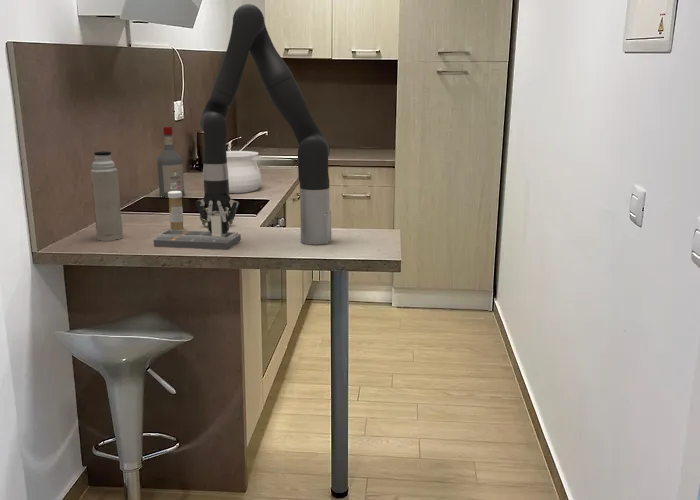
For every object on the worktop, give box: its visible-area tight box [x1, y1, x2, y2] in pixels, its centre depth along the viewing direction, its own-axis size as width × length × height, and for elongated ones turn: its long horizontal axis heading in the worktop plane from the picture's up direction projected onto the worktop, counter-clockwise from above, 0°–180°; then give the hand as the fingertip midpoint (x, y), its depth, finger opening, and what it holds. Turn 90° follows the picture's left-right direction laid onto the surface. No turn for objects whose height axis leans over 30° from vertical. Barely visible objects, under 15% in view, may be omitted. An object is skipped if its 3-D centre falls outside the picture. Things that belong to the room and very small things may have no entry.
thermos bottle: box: [90, 151, 124, 242], centre depth 219 cm, size 8×8×28 cm
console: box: [153, 229, 242, 250], centre depth 215 cm, size 24×12×3 cm, turn 80°
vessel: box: [199, 207, 235, 228], centre depth 239 cm, size 12×9×6 cm
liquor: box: [156, 126, 185, 198], centre depth 295 cm, size 9×9×30 cm
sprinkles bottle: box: [168, 191, 185, 230], centre depth 232 cm, size 5×5×13 cm
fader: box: [211, 214, 226, 237], centre depth 213 cm, size 3×5×7 cm, turn 170°
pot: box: [226, 150, 263, 194], centre depth 314 cm, size 26×24×17 cm
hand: (218, 232), depth 214 cm, fingers open, 3 cm apart
